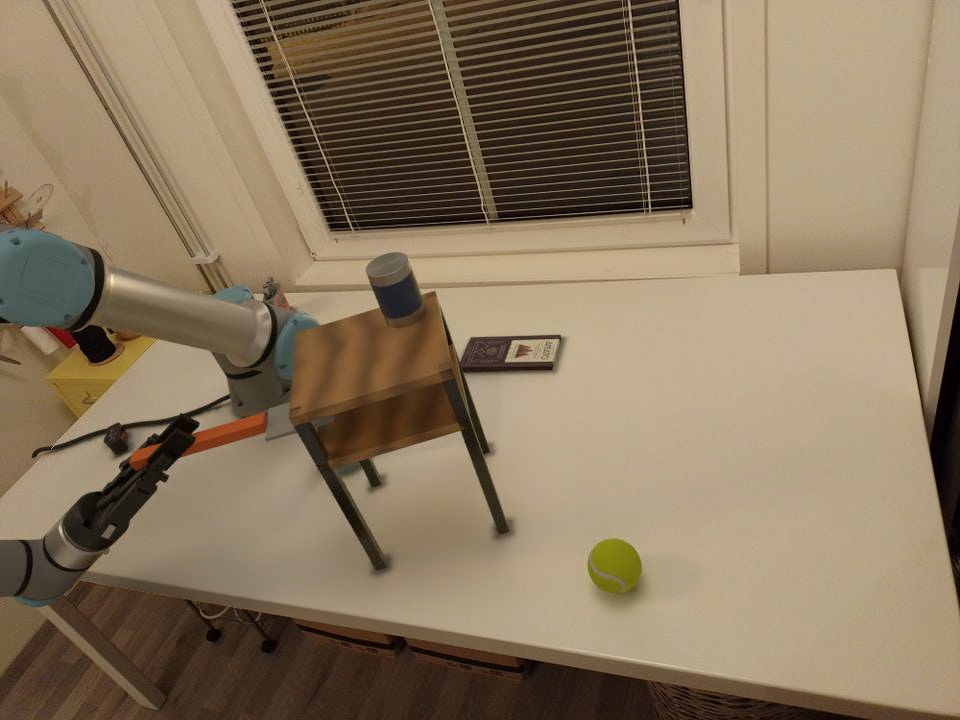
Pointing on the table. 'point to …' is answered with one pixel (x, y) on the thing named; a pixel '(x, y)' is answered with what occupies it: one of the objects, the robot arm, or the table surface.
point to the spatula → (235, 433)
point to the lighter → (274, 294)
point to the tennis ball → (614, 566)
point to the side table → (382, 401)
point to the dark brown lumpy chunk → (116, 438)
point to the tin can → (396, 289)
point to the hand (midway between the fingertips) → (187, 427)
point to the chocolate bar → (511, 353)
